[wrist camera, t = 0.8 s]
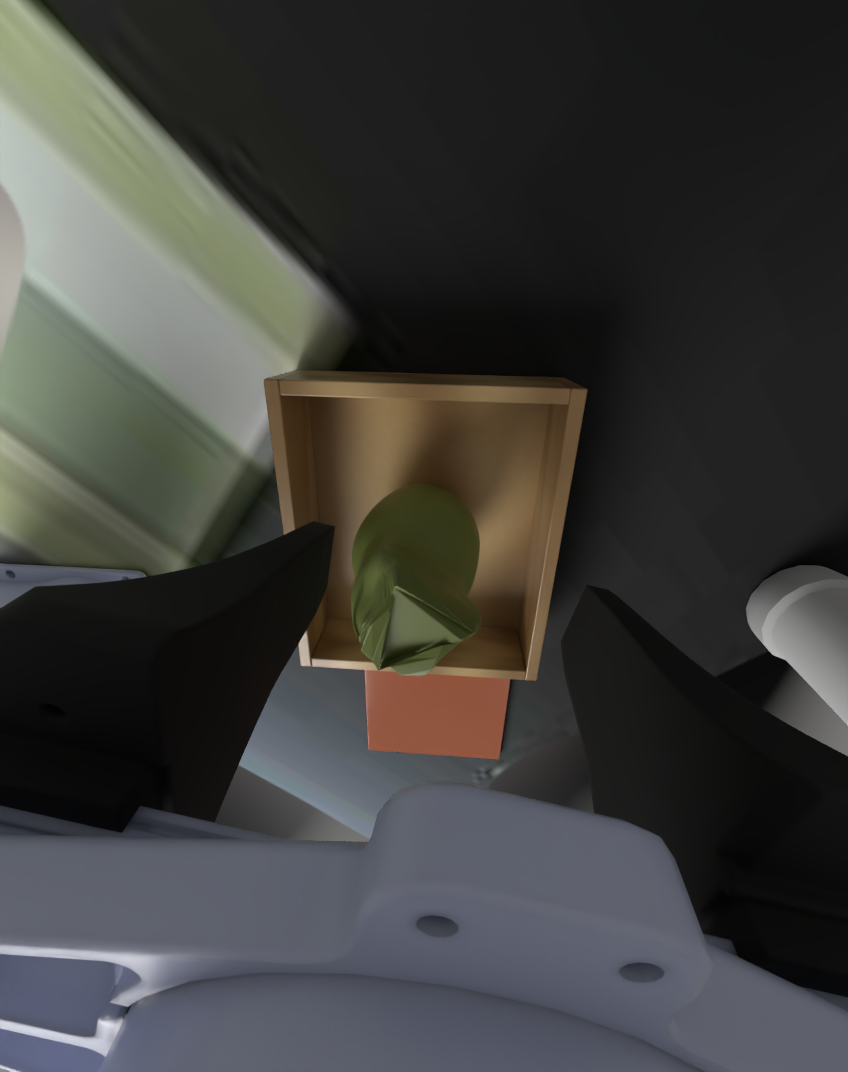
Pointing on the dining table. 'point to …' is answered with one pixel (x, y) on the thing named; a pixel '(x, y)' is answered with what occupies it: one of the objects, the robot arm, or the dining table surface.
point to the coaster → (436, 714)
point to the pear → (414, 579)
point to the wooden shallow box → (443, 461)
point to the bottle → (807, 627)
